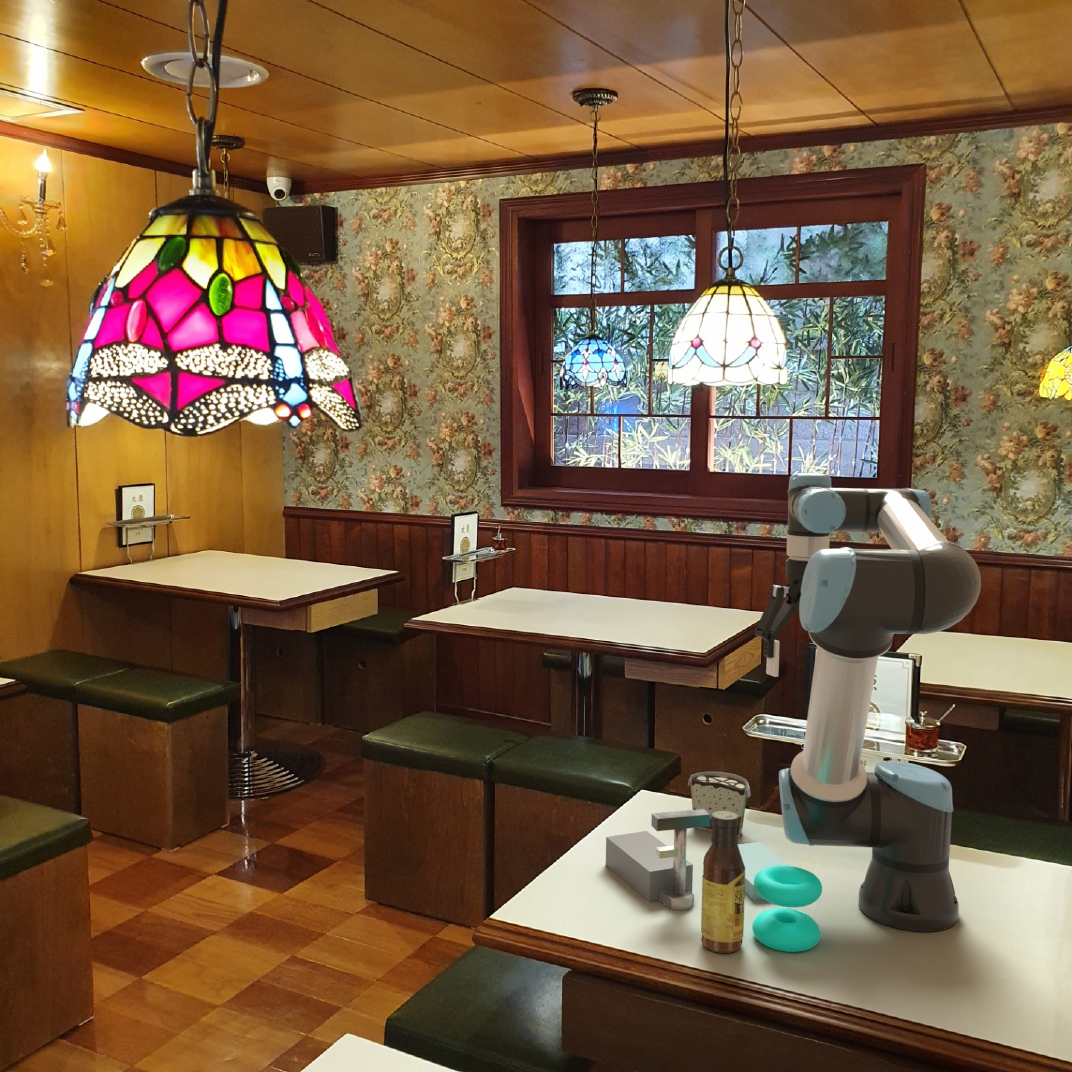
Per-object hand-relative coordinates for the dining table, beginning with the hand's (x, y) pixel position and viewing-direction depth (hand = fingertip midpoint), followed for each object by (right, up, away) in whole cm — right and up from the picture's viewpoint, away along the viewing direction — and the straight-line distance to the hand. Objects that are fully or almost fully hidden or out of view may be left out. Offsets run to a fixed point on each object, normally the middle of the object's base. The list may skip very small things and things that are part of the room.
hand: (803, 672), depth 201 cm
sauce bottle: (-22, -36, -39) cm, 57 cm away
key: (-26, -32, -25) cm, 49 cm away
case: (-29, -33, -18) cm, 48 cm away
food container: (-13, -31, +9) cm, 35 cm away
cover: (-11, -34, -14) cm, 38 cm away
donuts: (-12, -36, -37) cm, 53 cm away
